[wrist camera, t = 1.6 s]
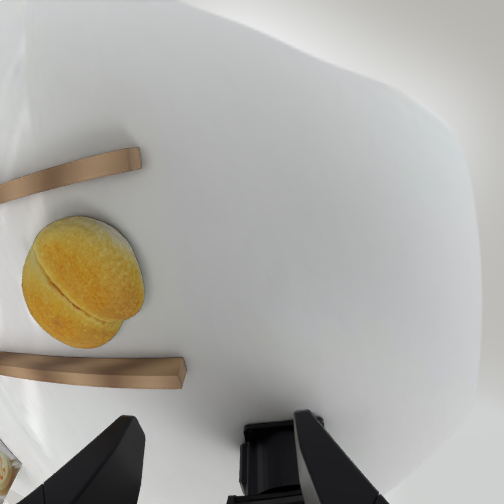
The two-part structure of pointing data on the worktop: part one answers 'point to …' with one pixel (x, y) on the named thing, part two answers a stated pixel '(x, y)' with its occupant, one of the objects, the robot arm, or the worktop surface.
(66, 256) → the bread roll
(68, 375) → the guide channel
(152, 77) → the worktop surface
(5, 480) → the coffee box
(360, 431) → the worktop surface
